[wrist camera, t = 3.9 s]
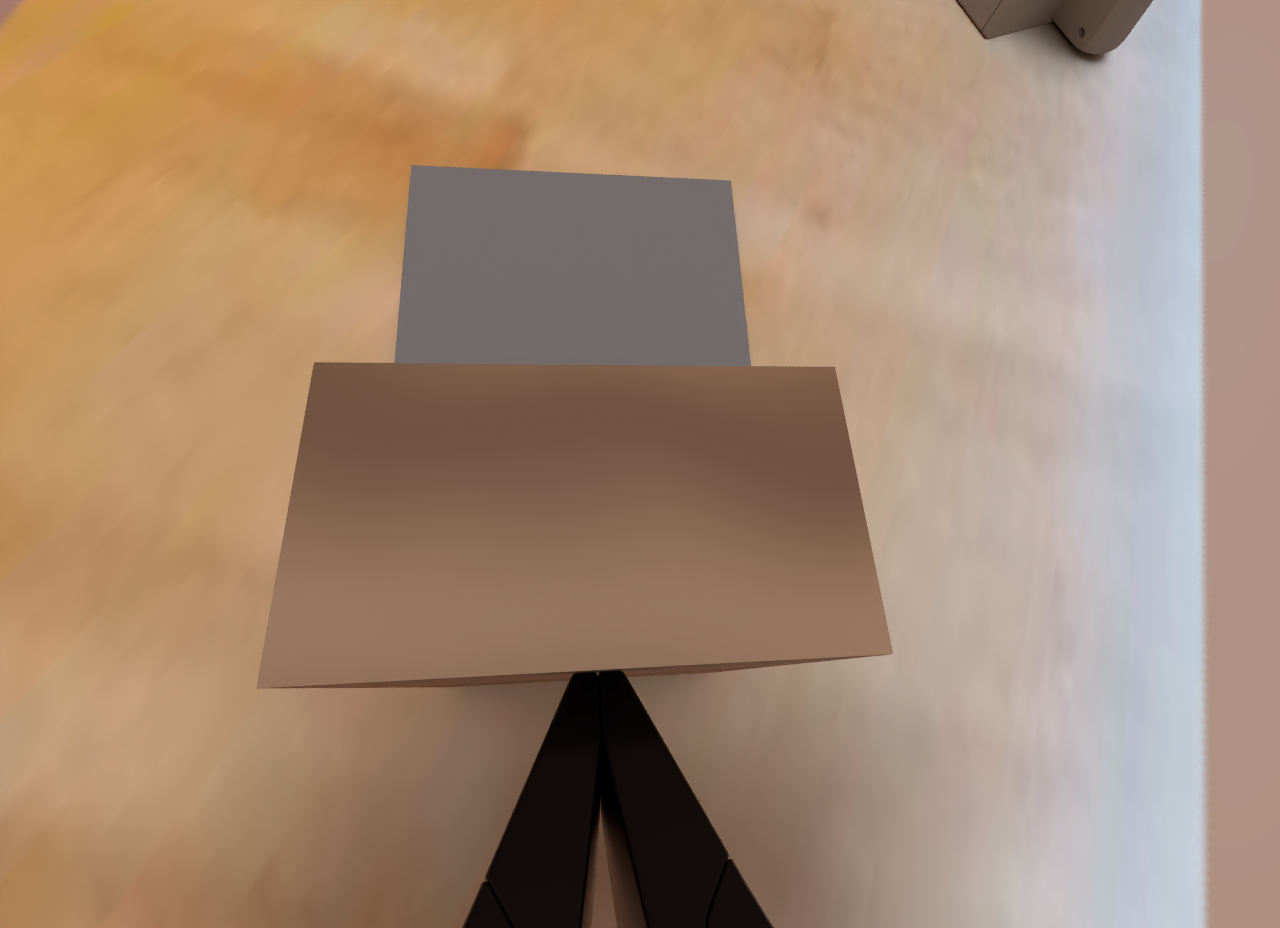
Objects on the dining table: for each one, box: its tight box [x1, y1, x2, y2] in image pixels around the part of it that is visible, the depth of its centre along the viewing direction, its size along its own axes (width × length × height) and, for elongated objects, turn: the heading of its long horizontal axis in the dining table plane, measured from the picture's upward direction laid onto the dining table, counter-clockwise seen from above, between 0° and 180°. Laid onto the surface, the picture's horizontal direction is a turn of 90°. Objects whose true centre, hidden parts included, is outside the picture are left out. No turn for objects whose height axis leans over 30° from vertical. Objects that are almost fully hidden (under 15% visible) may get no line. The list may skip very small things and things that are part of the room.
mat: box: [395, 165, 751, 366], centre depth 23 cm, size 15×14×2 cm
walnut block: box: [257, 362, 893, 688], centre depth 15 cm, size 5×9×12 cm, turn 93°
